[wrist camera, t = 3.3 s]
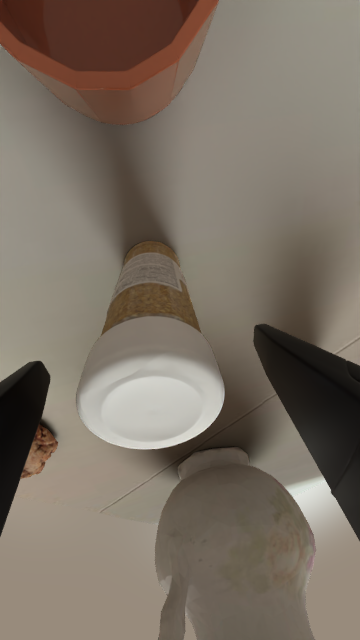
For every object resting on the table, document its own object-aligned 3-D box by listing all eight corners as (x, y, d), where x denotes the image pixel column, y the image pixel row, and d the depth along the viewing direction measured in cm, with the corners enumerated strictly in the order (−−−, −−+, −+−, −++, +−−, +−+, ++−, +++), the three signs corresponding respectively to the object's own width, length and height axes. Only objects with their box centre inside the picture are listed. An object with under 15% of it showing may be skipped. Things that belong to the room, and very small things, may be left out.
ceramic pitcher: (123, 479, 37) (82, 864, 17) (173, 414, 27) (217, 1139, 7) (232, 489, 44) (295, 773, 23) (302, 440, 34) (514, 851, 14)
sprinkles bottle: (174, 297, 20) (207, 455, 8) (121, 290, 19) (74, 456, 7) (185, 244, 17) (250, 360, 6) (124, 233, 17) (65, 346, 5)
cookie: (-15, 465, 29) (-31, 492, 27) (-48, 413, 24) (-72, 440, 21) (66, 461, 31) (59, 486, 28) (52, 410, 25) (41, 436, 23)
